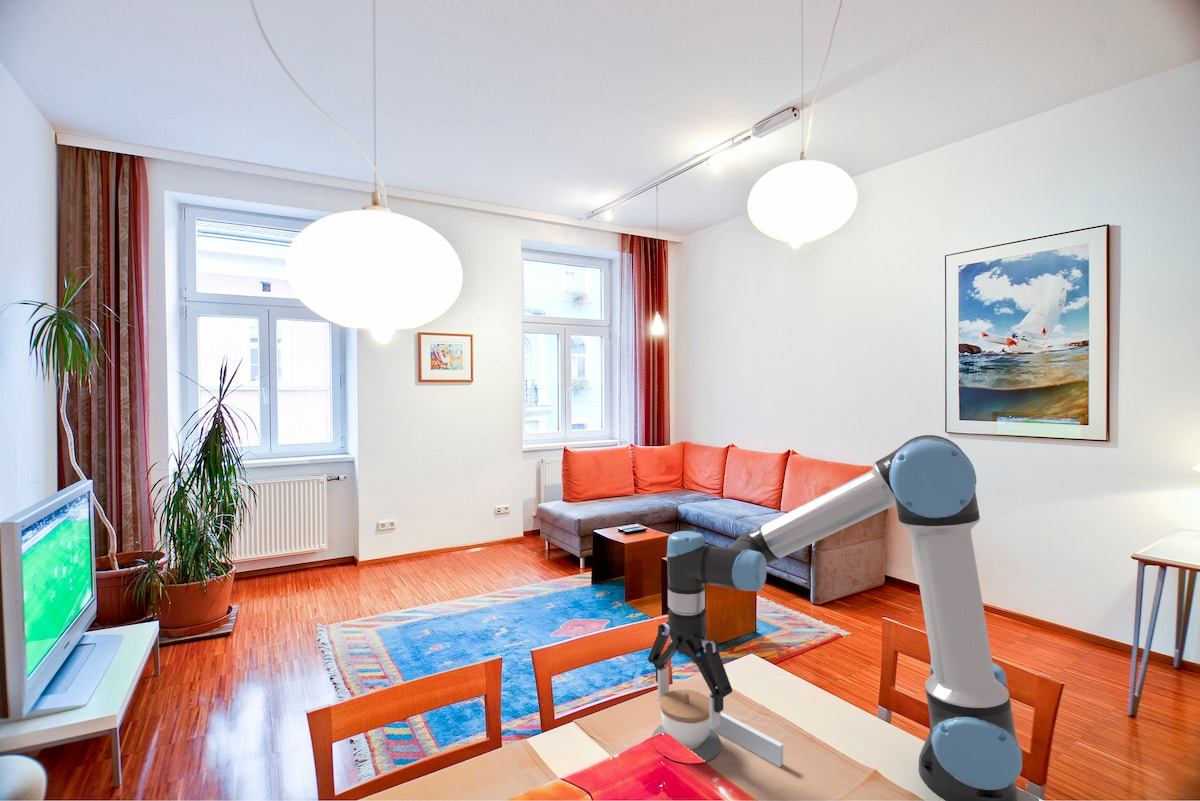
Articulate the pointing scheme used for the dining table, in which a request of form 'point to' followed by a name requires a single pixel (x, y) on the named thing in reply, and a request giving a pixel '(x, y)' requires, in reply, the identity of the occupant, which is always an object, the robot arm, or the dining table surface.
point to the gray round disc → (702, 745)
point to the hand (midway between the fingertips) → (688, 712)
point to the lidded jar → (686, 716)
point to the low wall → (751, 739)
